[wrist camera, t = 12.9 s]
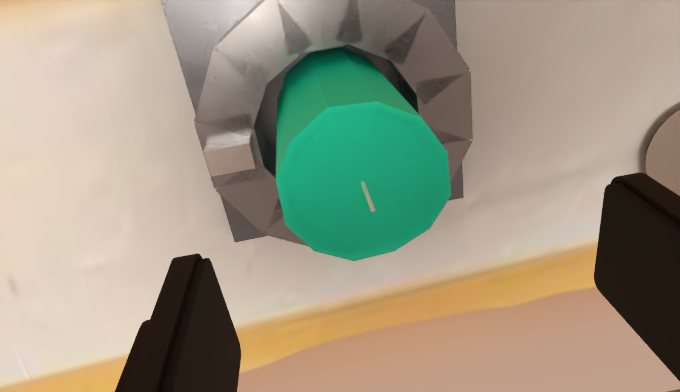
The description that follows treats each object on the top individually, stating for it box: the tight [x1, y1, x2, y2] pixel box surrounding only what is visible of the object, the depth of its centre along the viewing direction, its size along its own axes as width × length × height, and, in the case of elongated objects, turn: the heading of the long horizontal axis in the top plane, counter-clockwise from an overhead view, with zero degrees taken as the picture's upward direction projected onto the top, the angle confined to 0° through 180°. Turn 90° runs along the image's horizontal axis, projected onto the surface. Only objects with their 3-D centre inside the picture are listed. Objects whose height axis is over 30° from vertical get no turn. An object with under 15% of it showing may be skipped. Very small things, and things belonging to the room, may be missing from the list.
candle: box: [276, 47, 451, 261], centre depth 20 cm, size 6×6×12 cm
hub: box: [161, 0, 473, 246], centre depth 24 cm, size 14×14×6 cm
